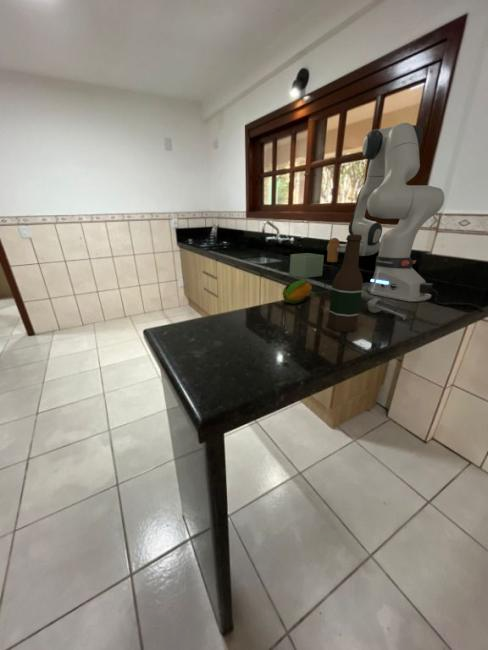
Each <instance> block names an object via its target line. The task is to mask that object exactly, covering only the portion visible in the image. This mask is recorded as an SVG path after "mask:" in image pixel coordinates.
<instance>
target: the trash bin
mask: <svg viewBox="0 0 488 650" xmlns="http://www.w3.org/2000/svg"><path fill="white" fill-rule="evenodd" d="M324 259H325V255H324V254H318V253H317V254H316V253H310V252H304V253H293V254H291V253H290V258H289V275H291V276H295V277H299V278H301V279H307V278H308V279H309V278H316V277H322V276H323V271H324Z"/></svg>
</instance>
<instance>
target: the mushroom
mask: <svg viewBox="0 0 488 650" xmlns="http://www.w3.org/2000/svg"><path fill="white" fill-rule="evenodd" d="M366 305H367V310H368V312H370V313H373V314H377V313H380V312H381V311H385V312H387V313H390V314H392V315H395V316H398V317H400V318H401V319H402V320H403V321H404V320H406V318H407V316H408V314H405V313H404V314H402V313H400V312H397V311H394V310H393V309H390V308H387V307H386V304H385V302H384V301H383V300H382V299H381V298H378V297H374V298H372V299H370V300H368V301H367V303H366Z"/></svg>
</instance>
